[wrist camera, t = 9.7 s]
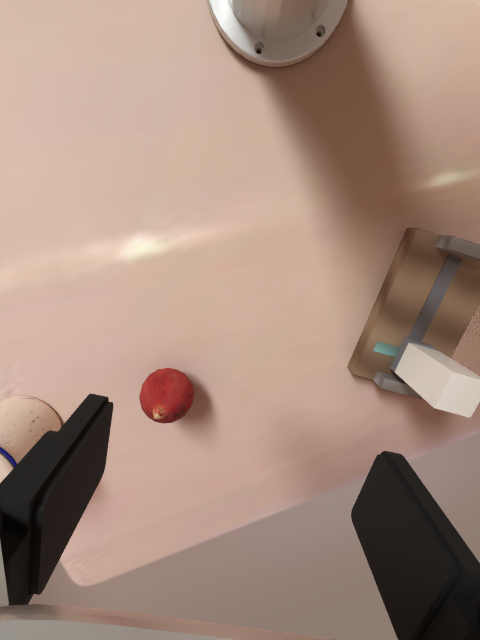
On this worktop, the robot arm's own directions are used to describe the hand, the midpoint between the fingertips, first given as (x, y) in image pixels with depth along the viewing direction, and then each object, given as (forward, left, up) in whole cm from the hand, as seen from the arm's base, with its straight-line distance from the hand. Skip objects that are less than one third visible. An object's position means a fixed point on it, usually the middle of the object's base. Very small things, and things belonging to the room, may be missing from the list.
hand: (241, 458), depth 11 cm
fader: (+1, +21, -23) cm, 31 cm away
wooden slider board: (-4, +21, -26) cm, 33 cm away
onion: (+12, -4, -26) cm, 29 cm away
